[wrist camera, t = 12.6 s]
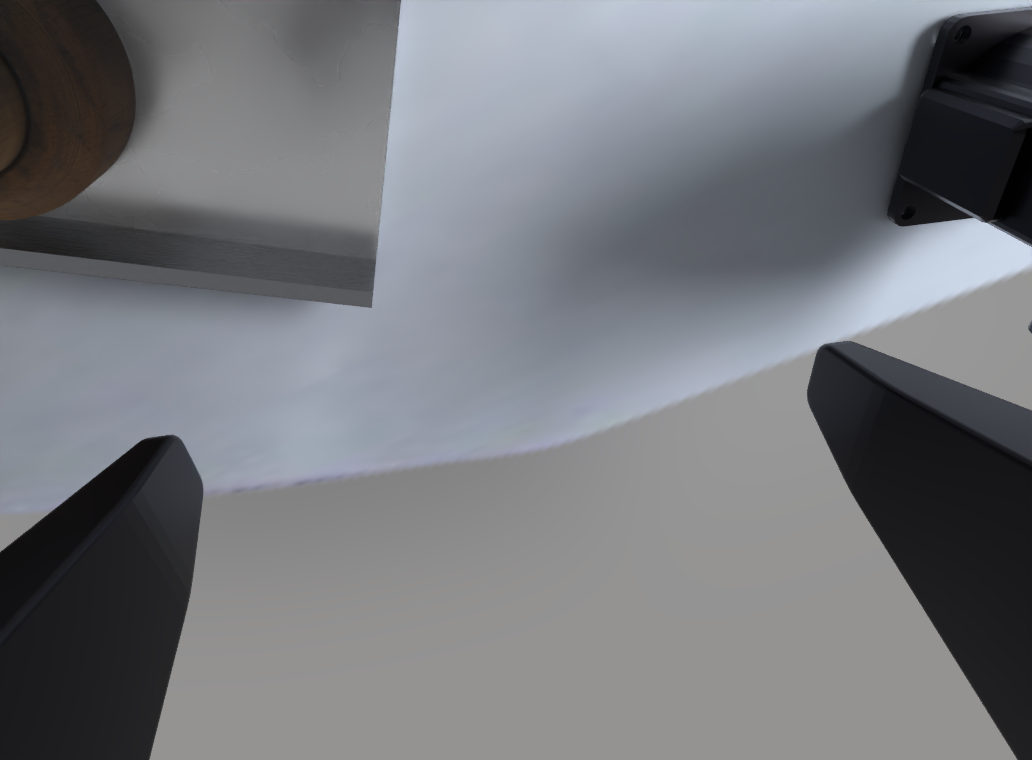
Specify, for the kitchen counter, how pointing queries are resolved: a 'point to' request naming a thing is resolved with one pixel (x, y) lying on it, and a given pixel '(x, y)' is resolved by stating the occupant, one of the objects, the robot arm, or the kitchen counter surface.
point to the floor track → (238, 153)
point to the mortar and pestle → (59, 102)
